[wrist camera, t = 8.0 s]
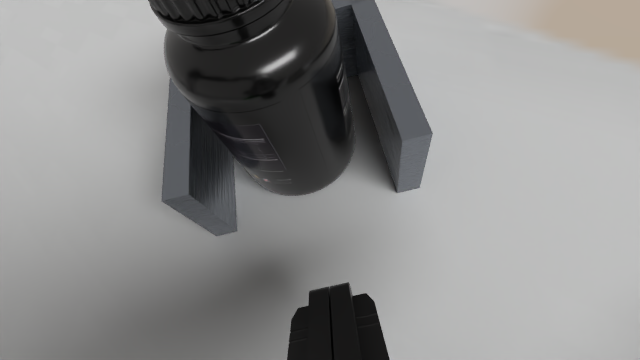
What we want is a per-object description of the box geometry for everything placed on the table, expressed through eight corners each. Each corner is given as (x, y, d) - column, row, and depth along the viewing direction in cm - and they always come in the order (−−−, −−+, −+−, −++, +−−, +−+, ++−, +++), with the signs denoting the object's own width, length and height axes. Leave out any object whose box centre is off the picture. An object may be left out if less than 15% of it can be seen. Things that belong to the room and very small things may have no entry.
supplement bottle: (284, 92, 22) (192, -145, 11) (376, 124, 19) (368, -142, 9) (225, 173, 19) (39, -26, 9) (319, 220, 17) (216, 22, 6)
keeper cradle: (419, 187, 17) (452, 51, 9) (216, 236, 18) (81, 150, 10) (370, 55, 22) (362, -108, 14) (213, 98, 23) (122, -34, 15)
